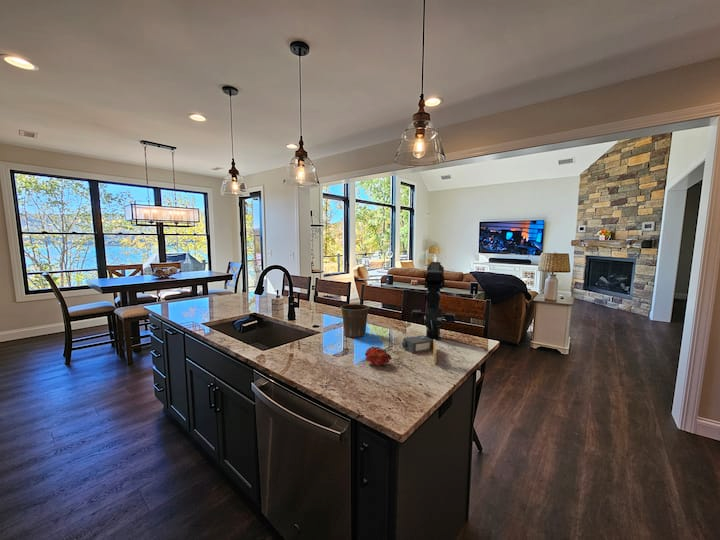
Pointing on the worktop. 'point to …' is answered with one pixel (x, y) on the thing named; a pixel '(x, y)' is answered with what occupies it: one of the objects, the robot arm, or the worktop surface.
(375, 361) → the dragon fruit
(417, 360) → the worktop surface
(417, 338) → the action camera body
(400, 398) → the worktop surface
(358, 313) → the plant pot
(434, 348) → the side door
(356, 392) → the worktop surface
